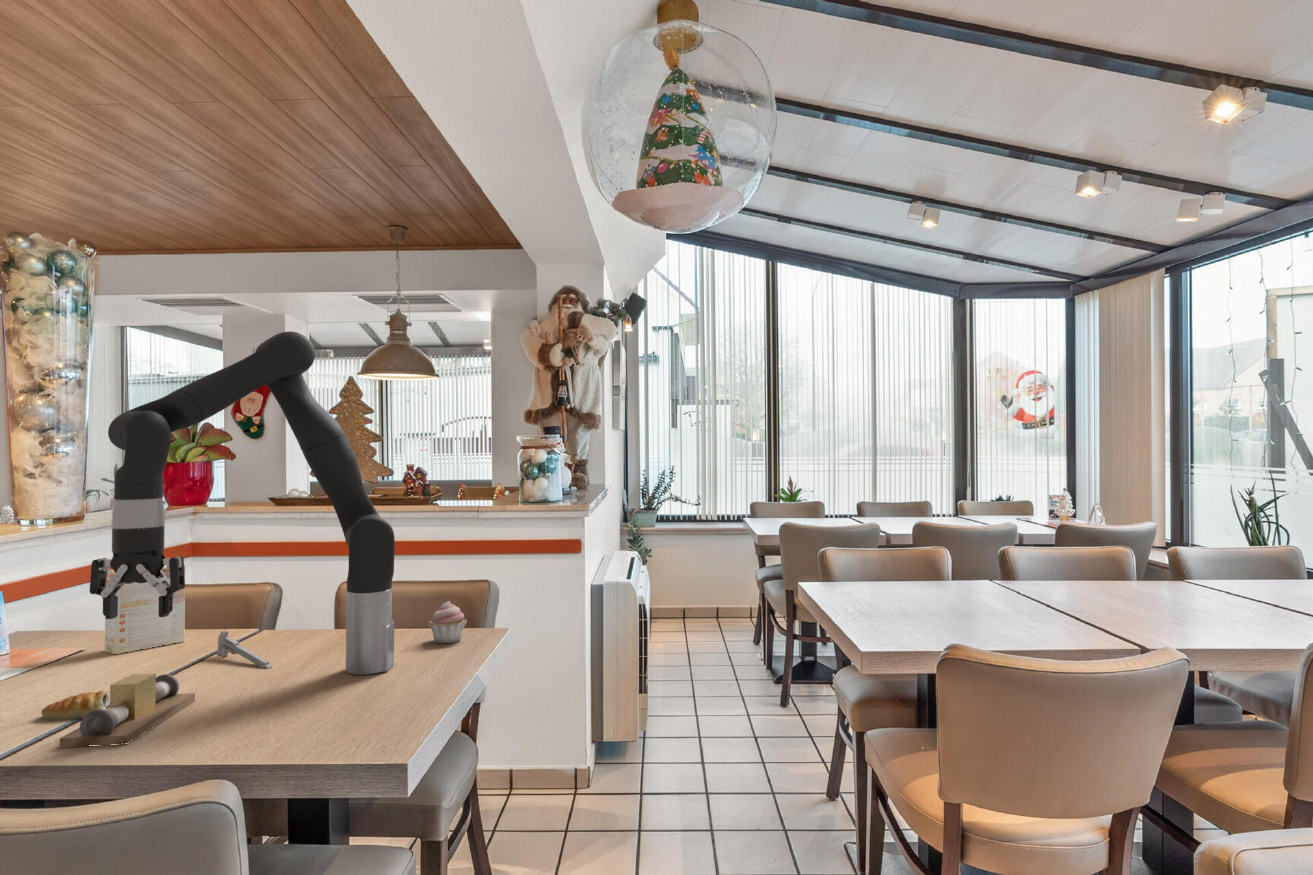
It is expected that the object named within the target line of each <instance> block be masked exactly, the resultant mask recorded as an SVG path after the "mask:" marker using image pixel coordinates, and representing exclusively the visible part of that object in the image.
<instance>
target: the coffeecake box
mask: <svg viewBox="0 0 1313 875" xmlns="http://www.w3.org/2000/svg"><path fill="white" fill-rule="evenodd" d="M161 571H162V572H163V573H164V574H165V576H166V577H167V578H168V582H169V583H170V570H168V569H167V566H166V565H165V566H164V567H163V568H162V569H161ZM114 574H115V572H114V570H113V569H109V570H108V571H107V580H106V586H107V585H108V582H109V581H110V579H111V578H112V577H113V576H114ZM184 574H185V575H186V564H184ZM185 589H186V587H185V588H184V589H181V590H179V591H176V592H174V594H173V609H172V612H170V613H169V615H168V616H166V617H159V596H161V595H160V594H159V592H158V591H157V590H156V589H155V588H154V587H152V586H151V585H150V584H149V583H148V582H146V583H137V582H133V583H128V584H124V585H123V586H122V587H121V588H120V589H119V591H118V592H117V593H116V594H115V596H118V615H117V617H116V618H113V619H106V616H104V651H105V650H106V651H108V652H107V653H109V652H110V654H111V653H112V655H113V654H118V655H121V653H122V654H125V653H124V652H128V653H132V652H131V651H133V652H136V651H135V650H138V651H141V650H140V649H143V650H147V649H148V648H149V649H153V648H152V647H154V648H158V646H160V647H163V646H162V645H165V646H169V644H170V645H173V643H176V644H180V642H181V643H184V642H185V637H186V636H185V635H186V634H185V628H186V626H185V625H186V624H185V623H186V622H185V618H186V617H185V616H186V613H185V607H186V604H185V603H186V602H185V601H186V598H185V597H186V590H185ZM149 649H148V650H149ZM106 651H105V652H106Z"/></svg>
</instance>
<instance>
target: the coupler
mask: <svg viewBox="0 0 1313 875" xmlns="http://www.w3.org/2000/svg"><path fill="white" fill-rule="evenodd" d="M156 677H157V673H137V674H136V673H133V674H132V673H131V674H130V675H128V676H126V677H124V678H122V679H120V680H118V681H115V682H113V683H111V684H110V685H109V701H110V704H109V708H111V707H113V706H115V705H117V704H122V705H125V706H126V707H127V708H128V711H129V714H128V717H127V718H126V719H125V720H135V719H137V718H138V717H140V716H142V715H143V714H145V713H147V712H149V711H150V710H152V709H154V708H155V698H156Z"/></svg>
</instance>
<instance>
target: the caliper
mask: <svg viewBox="0 0 1313 875" xmlns="http://www.w3.org/2000/svg"><path fill="white" fill-rule="evenodd" d="M228 635H229V631H227V630H226V629H224V630H221V631H220V634H219V635H218V639H217V648H216V650H217V651H216V652H217V656H218V657H221V658H225V657H226V658H227V657H228V656H229V653H230V654H232V655H239V656H240V657H243V658H244V659H246V660H247V661H249V662H251V663H252V664H255V665H256V666H257V667H259V668H261V669H262V668H263V669H267V670H268V669H272V668H273V666H272V665H271V664H270V661H269V660H266V659H264V658H263V657H261V656H259V655H258V654H256V653H255V652H253V651H251V650H250V649H249V650H248V649H247V648H246V647H244V646H242V645H241V644H240V642H238V641H237V640H235V639H234V638H232V637H230V636H228Z"/></svg>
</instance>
